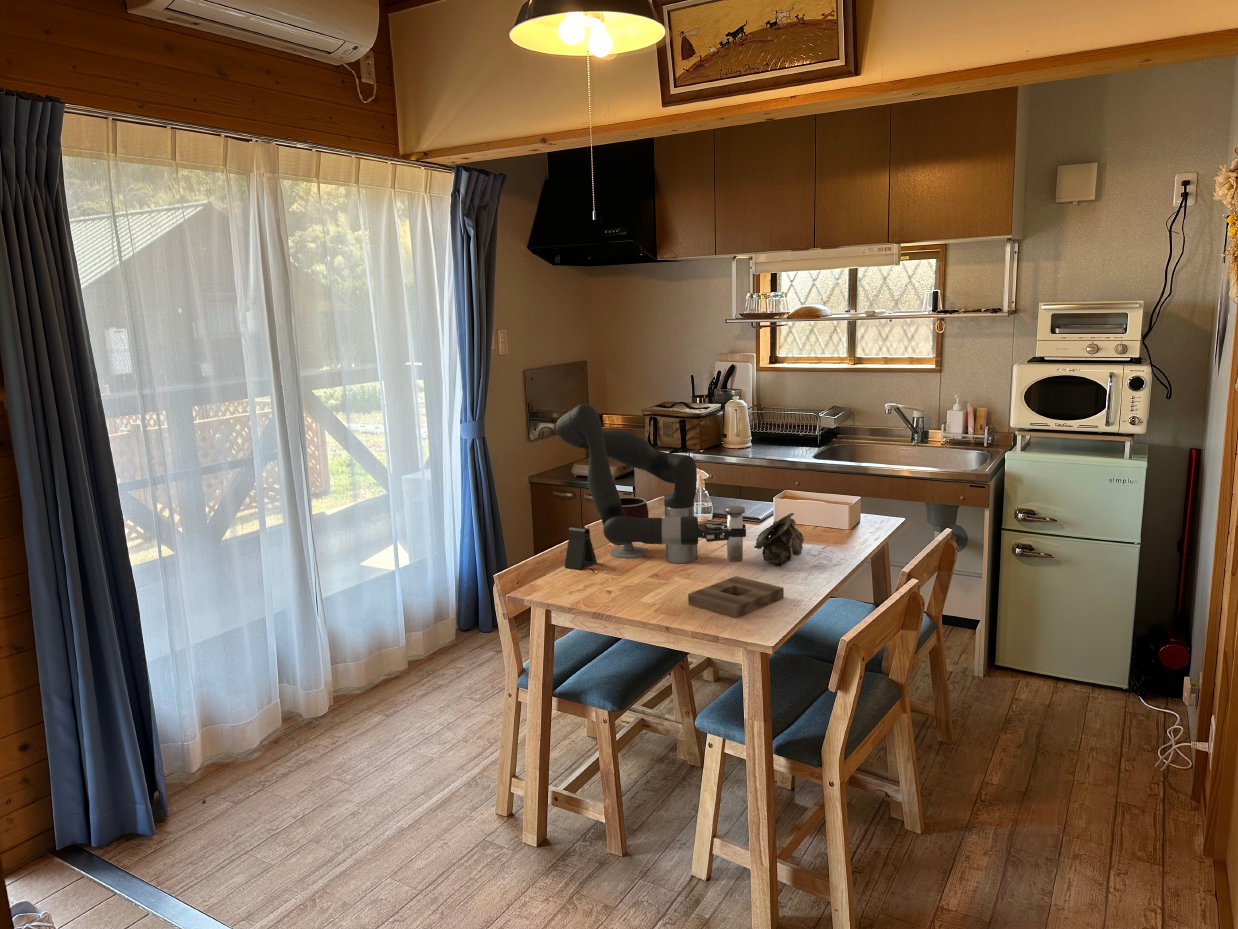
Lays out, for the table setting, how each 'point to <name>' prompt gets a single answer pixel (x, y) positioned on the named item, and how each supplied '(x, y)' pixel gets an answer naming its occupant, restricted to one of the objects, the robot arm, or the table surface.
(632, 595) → the table surface
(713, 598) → the socket plate
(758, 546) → the camouflage backpack
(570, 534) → the phone stand
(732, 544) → the steel pin
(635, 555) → the mate gourd
